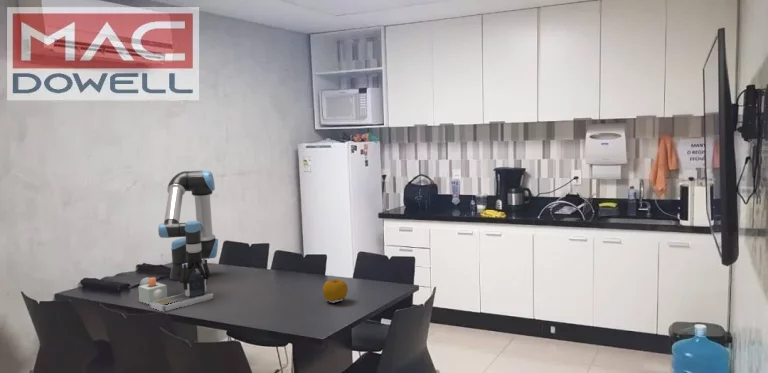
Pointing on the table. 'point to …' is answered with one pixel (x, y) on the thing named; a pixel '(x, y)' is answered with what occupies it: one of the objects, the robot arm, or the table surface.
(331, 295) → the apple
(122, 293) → the table surface
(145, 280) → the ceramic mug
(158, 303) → the rail
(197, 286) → the box
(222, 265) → the table surface
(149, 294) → the cabinet
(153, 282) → the gauge plunger
